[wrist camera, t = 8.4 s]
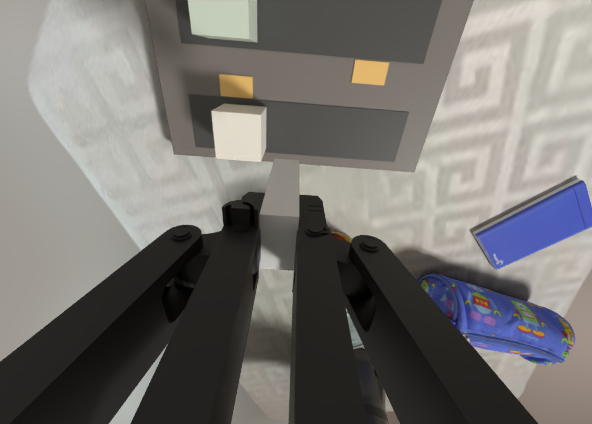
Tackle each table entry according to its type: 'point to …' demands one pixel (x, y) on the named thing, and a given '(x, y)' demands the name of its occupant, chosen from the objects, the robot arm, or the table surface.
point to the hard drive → (536, 225)
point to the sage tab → (224, 19)
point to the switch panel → (314, 77)
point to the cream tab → (239, 132)
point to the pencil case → (501, 320)
